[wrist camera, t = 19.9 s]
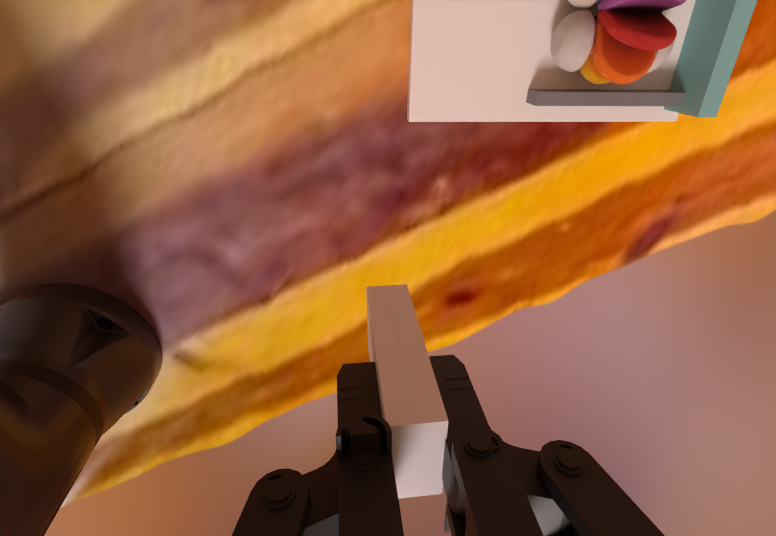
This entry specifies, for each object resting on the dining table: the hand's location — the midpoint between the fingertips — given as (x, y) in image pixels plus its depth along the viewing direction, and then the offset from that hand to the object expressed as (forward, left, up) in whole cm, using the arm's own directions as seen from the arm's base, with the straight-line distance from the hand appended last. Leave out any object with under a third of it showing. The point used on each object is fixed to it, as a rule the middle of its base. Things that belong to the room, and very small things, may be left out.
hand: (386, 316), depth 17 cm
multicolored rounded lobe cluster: (+18, +11, -23) cm, 31 cm away
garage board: (+15, +11, -24) cm, 30 cm away
